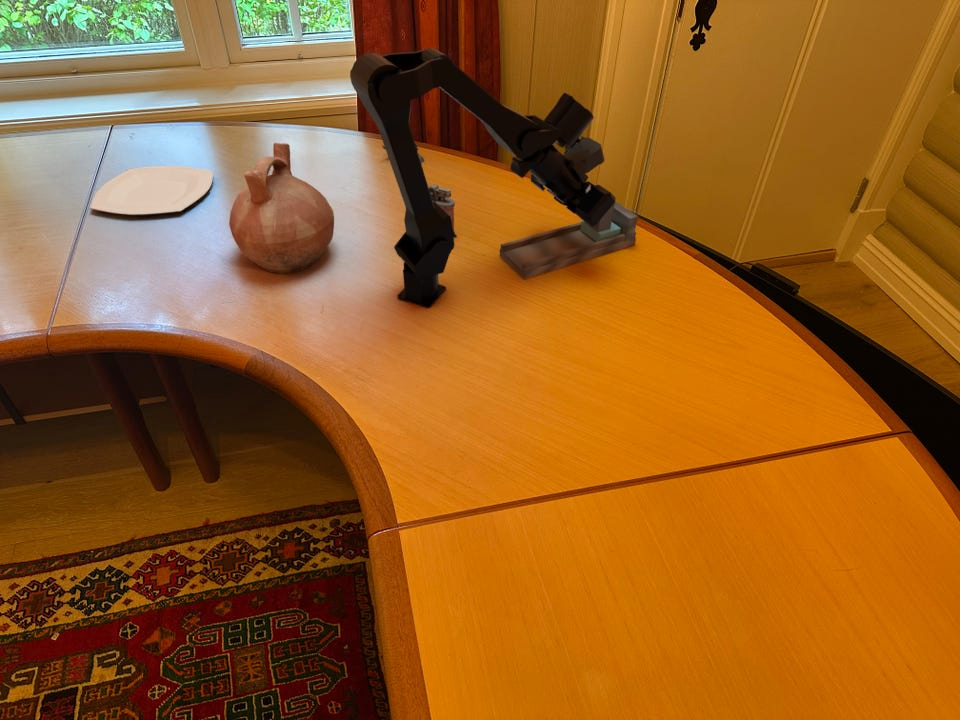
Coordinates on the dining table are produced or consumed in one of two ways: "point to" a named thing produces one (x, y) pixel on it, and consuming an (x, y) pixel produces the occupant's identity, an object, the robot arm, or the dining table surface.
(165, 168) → the plate
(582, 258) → the rail
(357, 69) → the robot arm
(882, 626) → the dining table surface
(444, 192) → the lighter
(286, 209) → the jug
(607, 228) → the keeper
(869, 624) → the dining table surface
